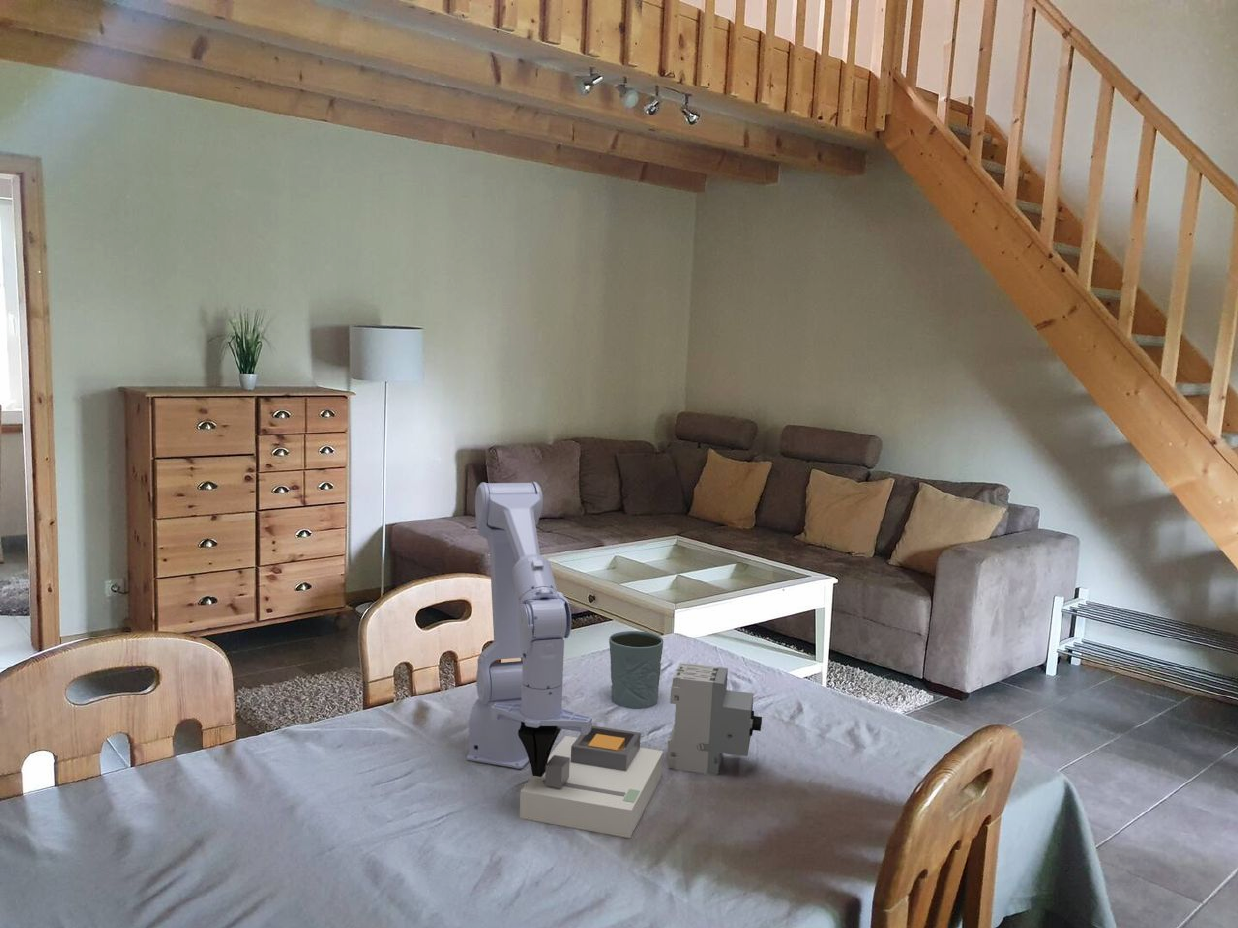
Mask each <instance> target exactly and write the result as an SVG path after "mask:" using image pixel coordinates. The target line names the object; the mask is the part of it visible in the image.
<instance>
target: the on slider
mask: <svg viewBox="0 0 1238 928" xmlns="http://www.w3.org/2000/svg"><path fill="white" fill-rule="evenodd" d="M569 765H570V757H564V756H558V755H554V756H553V757H552V758H551V759H550V760H549V762H548V763H547V764H546V769H545V786H551V787H557V788H562V786H563V785H564V783H565V782H566V781H567V779H568V778H569Z"/></svg>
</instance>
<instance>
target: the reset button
mask: <svg viewBox="0 0 1238 928" xmlns="http://www.w3.org/2000/svg"><path fill="white" fill-rule="evenodd" d="M588 747H593V748H600V749H606V750H612V751H619V752H623V751H624V748H625V738H620V737H614V736H608V735H601V734H596V735H595V736H594V738H593V739H592V740H591V742H590V743H589V745H588Z"/></svg>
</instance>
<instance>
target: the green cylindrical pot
mask: <svg viewBox="0 0 1238 928" xmlns="http://www.w3.org/2000/svg"><path fill="white" fill-rule="evenodd" d="M608 640H609V641H608V642H609V643H608V644H609V654H610V681H611V699H612V702H613V703H614V704H615V705H617V706H619V707H622V708H627V709H634V710H635V709H636V710H638V709H641V710H642V709H647V708H652V707H653V706H655V705H656V704H657V702H658V700H659V699H658V697H659V687H660V679H661V668H662V667H661V666H662V663H661V662H662V655H663V647H664V639H663V637H661V636H660V635H658V634H655V633H652V632H649V631H641V630H639V631H638V630H626V631H625V630H624V631H620V632H619V631H618V632H616V633H613V634H612V635H610V637H609V639H608Z"/></svg>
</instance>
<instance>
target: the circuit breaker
mask: <svg viewBox="0 0 1238 928" xmlns="http://www.w3.org/2000/svg"><path fill="white" fill-rule="evenodd" d="M728 672H729V668H728V667H721V666H715V665H714V666H713V665H705V664H696V663H688V662H686V663H682V662H679V663H678V666H677V668H676V670H675V673H674V675H673V678H672V684H671V688H670V700H669V703H670V704H672V705H675V714H674V716H675V717H674V724H673V727H672V729H671V733H670V734H669V737H668V740H667V754H666V769H667V770H668V769H669V770H670V769H674V770H676V771H682V772H689V773H690V772H691V773H698V774H705V775H714V776H718V775H719V771H720V768H721V763H722V759H723V758H722V757H723V754H727V755H735V756H744V757H748V755H749V749H750V744H751V738H752V736H753V731H757V732H758V731H759V732H761V731H762V725H763V716H758V715H755V711H754V693H753V692H748V691H747V692H746V691H738V690H737V691H736V690H729V689H728V688H727V687H728V675H729V674H728Z"/></svg>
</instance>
